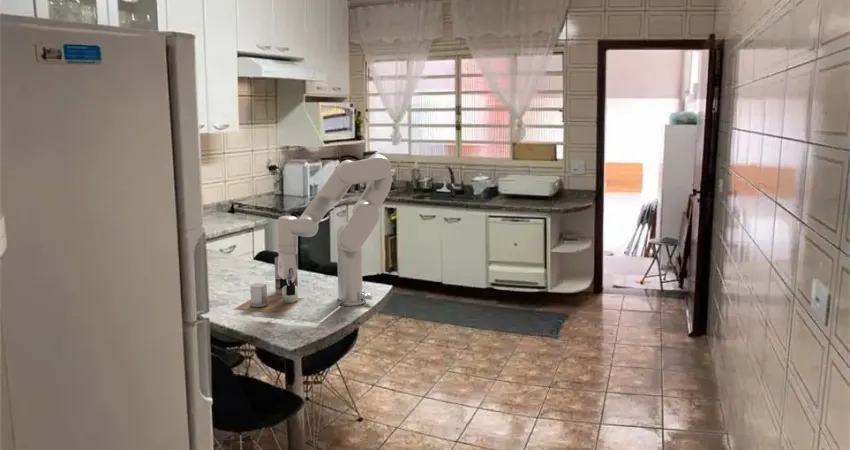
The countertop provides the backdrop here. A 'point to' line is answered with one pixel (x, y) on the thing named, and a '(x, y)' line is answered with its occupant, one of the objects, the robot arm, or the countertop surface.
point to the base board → (270, 305)
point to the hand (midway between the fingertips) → (287, 291)
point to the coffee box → (277, 277)
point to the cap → (289, 298)
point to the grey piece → (258, 295)
